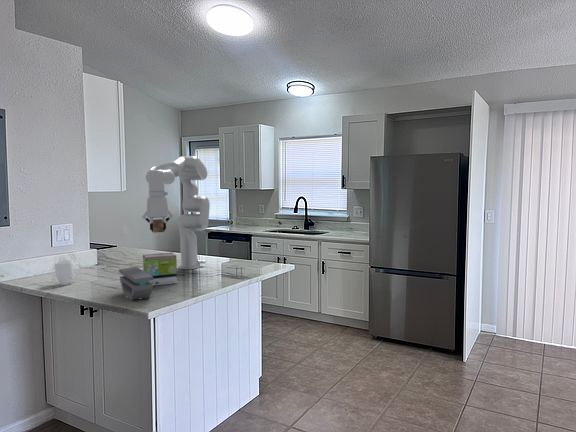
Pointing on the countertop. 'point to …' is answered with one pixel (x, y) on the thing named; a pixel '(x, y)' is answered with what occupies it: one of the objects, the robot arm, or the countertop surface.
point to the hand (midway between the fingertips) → (158, 230)
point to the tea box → (161, 267)
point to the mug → (65, 271)
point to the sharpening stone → (136, 283)
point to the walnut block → (158, 225)
